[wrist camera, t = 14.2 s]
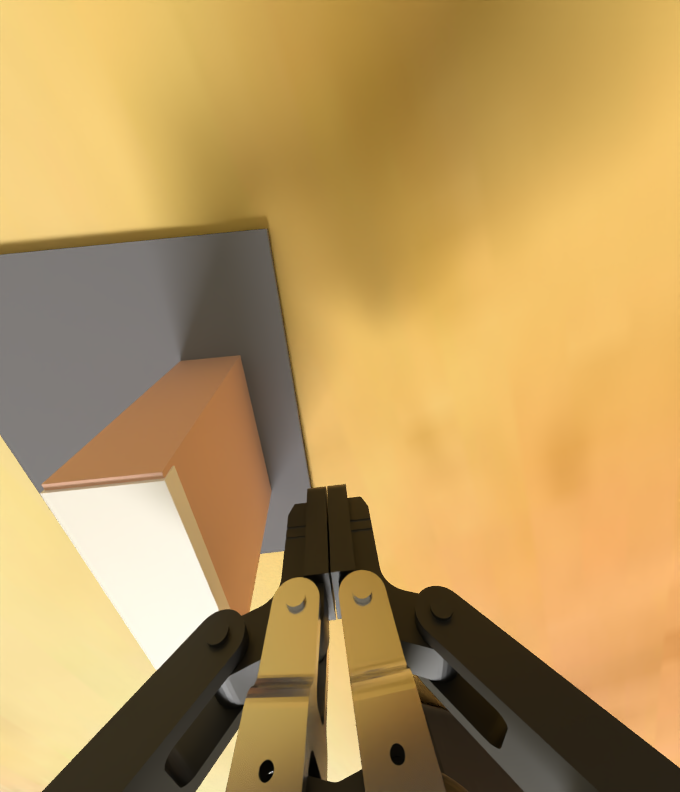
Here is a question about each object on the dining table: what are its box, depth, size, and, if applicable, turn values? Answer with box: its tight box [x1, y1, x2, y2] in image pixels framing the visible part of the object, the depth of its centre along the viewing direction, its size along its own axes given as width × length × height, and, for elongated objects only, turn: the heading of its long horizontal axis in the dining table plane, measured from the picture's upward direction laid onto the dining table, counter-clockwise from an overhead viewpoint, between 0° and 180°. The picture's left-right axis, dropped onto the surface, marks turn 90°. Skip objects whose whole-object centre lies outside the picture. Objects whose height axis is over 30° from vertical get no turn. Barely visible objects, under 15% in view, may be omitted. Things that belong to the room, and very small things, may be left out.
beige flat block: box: [40, 355, 272, 670], centre depth 14 cm, size 3×9×9 cm, turn 5°
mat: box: [0, 229, 311, 554], centre depth 18 cm, size 16×20×1 cm
